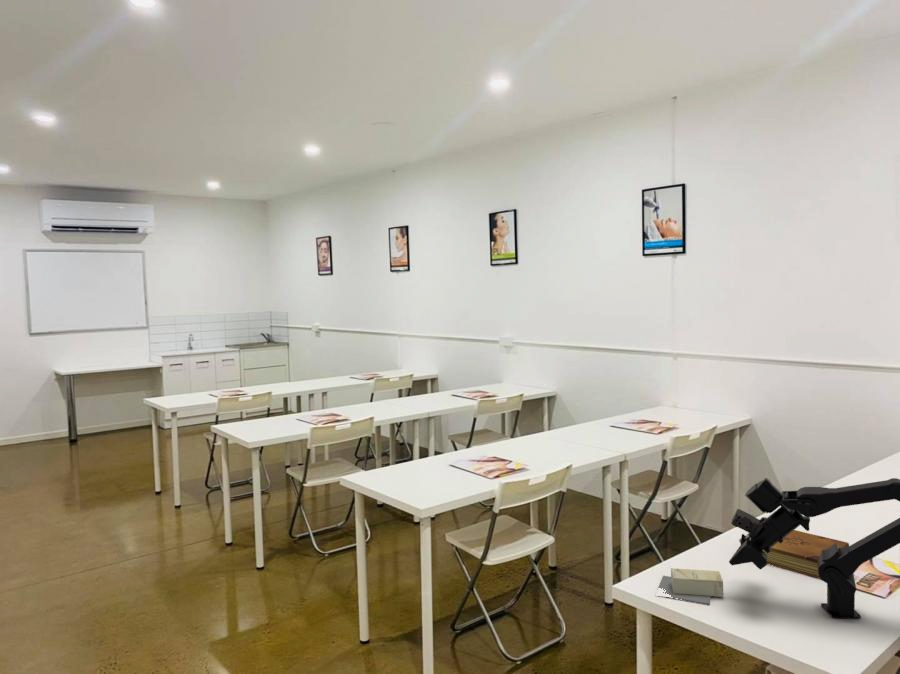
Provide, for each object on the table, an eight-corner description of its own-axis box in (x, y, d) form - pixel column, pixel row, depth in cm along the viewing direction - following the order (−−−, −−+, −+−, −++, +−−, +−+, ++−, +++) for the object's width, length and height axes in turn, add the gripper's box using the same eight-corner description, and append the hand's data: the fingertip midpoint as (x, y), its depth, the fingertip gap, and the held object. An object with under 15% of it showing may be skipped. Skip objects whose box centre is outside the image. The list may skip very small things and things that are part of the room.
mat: (713, 585, 174) (713, 583, 174) (709, 605, 163) (709, 603, 163) (663, 576, 180) (663, 575, 180) (655, 595, 169) (655, 594, 169)
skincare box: (723, 581, 166) (673, 577, 169) (723, 598, 166) (673, 594, 169) (719, 570, 172) (670, 567, 175) (718, 586, 173) (670, 583, 175)
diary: (849, 561, 187) (849, 542, 187) (825, 582, 175) (825, 561, 174) (766, 539, 204) (766, 521, 204) (739, 557, 192) (739, 538, 191)
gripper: (753, 490, 173) (709, 526, 179) (749, 513, 157) (702, 552, 162) (787, 523, 170) (741, 558, 176) (787, 549, 154) (737, 588, 159)
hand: (730, 563), depth 168 cm, fingers closed
